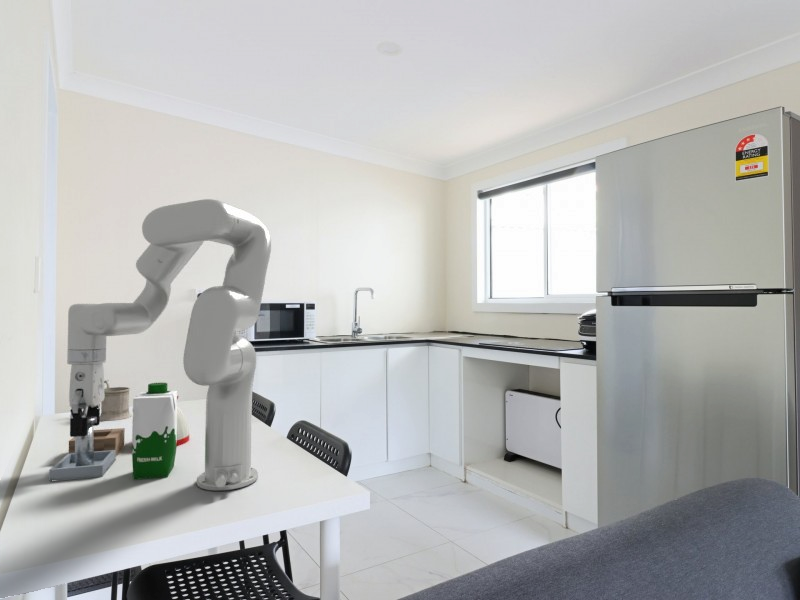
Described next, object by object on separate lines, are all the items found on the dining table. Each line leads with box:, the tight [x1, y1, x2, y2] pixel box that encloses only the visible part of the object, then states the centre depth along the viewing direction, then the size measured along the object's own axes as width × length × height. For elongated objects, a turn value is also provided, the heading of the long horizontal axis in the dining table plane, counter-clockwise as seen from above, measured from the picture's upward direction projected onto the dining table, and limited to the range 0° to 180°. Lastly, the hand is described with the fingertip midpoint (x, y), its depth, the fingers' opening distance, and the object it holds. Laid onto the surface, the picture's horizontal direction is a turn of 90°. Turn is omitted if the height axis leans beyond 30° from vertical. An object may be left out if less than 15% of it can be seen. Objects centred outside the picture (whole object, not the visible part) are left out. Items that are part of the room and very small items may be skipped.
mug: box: [100, 379, 133, 422], centre depth 163 cm, size 14×10×12 cm
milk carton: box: [131, 382, 178, 481], centre depth 108 cm, size 9×9×20 cm
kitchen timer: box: [177, 395, 190, 447], centre depth 133 cm, size 14×14×15 cm
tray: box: [48, 450, 117, 482], centre depth 109 cm, size 12×10×2 cm
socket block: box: [68, 427, 126, 457], centre depth 122 cm, size 10×10×5 cm
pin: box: [75, 416, 97, 467], centre depth 109 cm, size 5×5×11 cm
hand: (85, 430), depth 110 cm, fingers open, 9 cm apart
